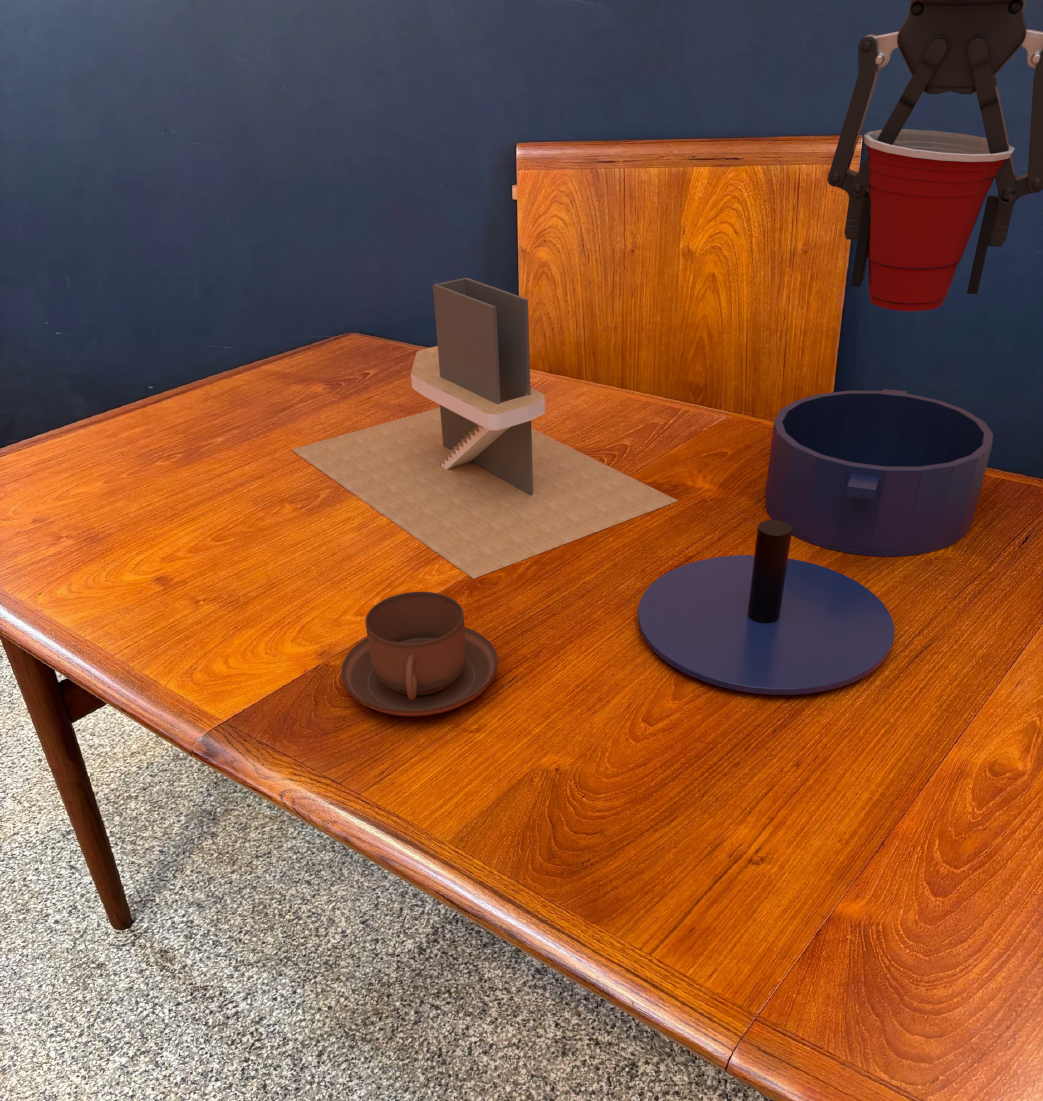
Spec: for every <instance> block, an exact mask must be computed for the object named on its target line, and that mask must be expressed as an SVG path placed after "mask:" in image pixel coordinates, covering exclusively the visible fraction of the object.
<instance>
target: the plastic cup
mask: <svg viewBox="0 0 1043 1101" xmlns="http://www.w3.org/2000/svg"><path fill="white" fill-rule="evenodd" d="M882 130H883V129H879V130H872V131H868V132H866V133H865V134H864V135H863V143H864V144H865V145H866V155H867V156H868V154H869V156H870V158H869V168H870V179H869V188H868V197H869V198H871V216H870V229H869V238H868V258H867V259H868V287H867V288H868V289H867V290H868V293H869V302H870V303H871V304H872V305H874V306H877V307H878V308H881V309H887V310H891V311H899V312H923V311H932V310H935V309H938V308H940V307H941V306H942V305H943V303H944V301H945V299H946V297H947V296H948V293H949V290H950V287H951V285H952V282H953V281H954V280H953V279H954V276H955V274H956V271H957V268H958V266H959V264H960V262H961V260H962V258H963V256H964V253H965V251H966V248H967V245H968V243H969V240H970V238H971V236H972V233H973V230H974V227H975V225H976V223H977V219H978V217H979V214H980V212H981V210H982V207H983V204H984V201H985V199H986V197H987V194H988V192H989V191H990V189H991V187H992V184H993V182H994V180H995V177H996V174H997V172H998V170H999V168H1001V166H1002V164H1003V163H1004V161H1005V159H1008V158H1009V157H1010V156H1011V157H1012V154H1013V153H1014V151H1015V147H1013V146H1012V145H1010V144H1009V151H1007V152H1001V153H996V154H990V152H989V147H988V142H987V138H986V137H982V136H976V135H971V134H964V133H958V132H957V133H956V132H947V131H941V130H940V131H938V130H924V129H907V128H905V129H904V128H902V130H901V131H900V133H899V135H898V136H897V138H896V140H895V142H894V143H893V145H889V144H886V143H883V142H880V141H876V140H877V138H878V137H879V135H880V133H881V131H882Z"/></svg>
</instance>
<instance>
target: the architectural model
mask: <svg viewBox="0 0 1043 1101" xmlns="http://www.w3.org/2000/svg"><path fill="white" fill-rule="evenodd" d="M432 290H433V292H432V294H433V304H434V306H433V307H434V317H435V330H436V342H437V343H436V344H437V345H435V346H432V347H427V348H424V349H420V350H418V351H416V354H415V357H414V360H413V362H412V363H413V364H412V367H411V371H410V377H411V387H412V389H413V390H414V391H416V392H417V393H418V394H420V395H421V396H422V397H424V398H426V399H429V400H430V401H432V402H434V403H436V404H438V405H439V407H437V408H433V409H430V410H426V411H422V412H419V413H415V414H412V415H409V416H405V417H402V418H398V419H394V420H391V421H387V422H384V423H379V424H376V425H372V426H370V427H366V428H363V429H359V430H358V429H357V430H355V431H352V432H349V433H344V434H341V435H338V436H334V437H330V438H327V439H323V440H319V441H317V442H313V443H309V444H305V445H301V446H299V447H295V448H291V449H290V450H291V451H292V452H294V453H295V454H296V455H298V456H299V457H300V458H302V459H303V460H305V461H306V462H307V463H309V464H311V465H312V466H313V467H314V468H316V469H318V470H319V471H321V473H323V474H325V475H326V476H328V477H329V478H330V479H331V480H333V481H334V482H336V483H337V484H338V485H340V486H341V487H343V488H344V489H345V490H347V491H348V492H350V493H351V494H352V495H354V496H356V497H357V498H358V499H360V500H361V501H363V502H364V503H366V504H367V505H368V506H370V507H371V508H373V510H376V511H377V512H378V513H380V514H381V515H383V517H385V518H387V519H388V520H390V522H393V523H394V524H395V525H396V526H398V527H399V528H402V530H404V531H405V532H406V533H408V534H409V535H411V536H412V537H414V538H415V539H416V540H418V541H419V542H421V543H422V544H424V545H425V546H426V547H428V548H429V549H430V550H432V551H434V552H435V553H436V554H437V555H439V556H440V557H442V558H444V560H446V561H448V562H449V563H450V564H452V565H453V566H455V567H456V568H458V569H459V570H460V571H462V572H463V573H464V574H466V575H468V576H469V577H471V578H472V579H477V578H479V577H483V576H485V575H487V574H490V573H493V572H496V571H498V570H500V569H503V568H506V567H509V566H511V565H514V564H517V563H519V562H522V561H524V560H527V559H529V558H532V557H535V556H537V555H540V554H542V553H545V552H548V551H550V550H553V549H555V548H559V547H561V546H563V545H566V544H568V543H572V542H574V541H577V540H579V539H582V538H585V537H587V536H590V535H592V534H594V533H597V532H600V531H603V530H605V529H608V528H610V527H613V526H616V525H618V524H621V523H624V522H627V521H629V520H632V519H634V518H637V517H640V516H643V515H645V514H648V513H650V512H653V511H655V510H658V509H661V508H664V507H666V506H669V505H671V504H673V503H676V502H679V500H678V499H675V498H674V497H672V496H670V495H668V494H666V493H663V492H662V491H660V490H657V489H655V488H654V487H652V486H649V485H648V484H645V483H644V482H642V481H639V480H638V479H635V478H634V477H631V476H629V475H627V474H625V473H624V472H621V471H619V470H617V469H615V468H613V467H611V466H609V465H607V464H606V463H604V462H601V461H599V460H598V459H595V458H593V457H591V456H589V455H586V454H585V453H582V452H581V451H579V450H577V449H574V448H573V447H570V446H569V445H567V444H564V443H562V442H560V441H558V440H556V439H555V438H552V437H551V436H548V435H546V434H544V433H542V432H540V431H538V430H536V429H535V428H532V420H534V419H537V418H539V417H541V416H543V415H545V414H546V395H545V394H543V393H542V392H540V391H538V390H536V389H535V388H533V387H531V361H530V360H531V359H530V356H531V355H530V323H529V319H530V318H529V299H528V298H525V297H522V296H521V295H517V294H514V293H512V292H509V291H506V290H503V289H500V288H497V287H495V286H491V285H489V284H486V283H483V282H480V281H477V280H475V279H472V278H468V277H463V278H459V279H453V280H449V281H445V282H440V283H435V284H432Z"/></svg>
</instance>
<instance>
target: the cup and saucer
mask: <svg viewBox="0 0 1043 1101" xmlns="http://www.w3.org/2000/svg"><path fill="white" fill-rule="evenodd" d="M464 614H465V613H464V609H463V607H462V606H461V604H460V603H459V602H458V601H457V600H455V599H454V598H452V597H451V596H447V595H446V594H443V593H438V592H433V591H409V592H403V593H398V594H395V595H392V596H389V597H387V598H384V599H383V600H380V601H379V602H377V603H376V604H375V605H373V606H372V607H371V608H370V609H369V611H368V612H367V614H366V616H365V621H364V623H365V630H366V637H365V638H364V639H362V640H361V641H359V642H358V643H357V644H355V645H354V647H352V649H350V651H349V652H348V653H347V654H346V656H345V658H344V660H343V662H342V666H341V678H342V682H343V684H344V686H345V688H346V690H347V691H348V693H349V694H350V696H352V698H354V699H355V700H356V701H357V702H358V703H360V704H362V705H363V706H365V707H367V708H370V709H372V710H374V711H377V712H380V713H383V714H387V715H391V716H398V717H425V716H426V717H428V716H433V715H438V714H443V713H447V712H449V711H452V710H455V709H457V708H460V707H462V706H463V705H466V704H468V703H469V702H471V701H472V700H474V699H475V698H476V697H478V696H479V695H481V694H482V693H483V692H484V691H485V690H486V689H487V688H488V687H489V686H490V684H491V683H492V682H493V680H494V678H495V675H496V673H497V668H498V661H499V660H498V654H497V650H496V649H495V647H494V645H493V644H492V643H491V642H490V640H489V639H487V638H486V637H485V636H484V635H483V634H480V633H479V632H478V631H476V630H474V629H471V628H469V627H466V626H465V615H464Z"/></svg>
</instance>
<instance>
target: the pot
mask: <svg viewBox="0 0 1043 1101" xmlns="http://www.w3.org/2000/svg"><path fill="white" fill-rule="evenodd" d="M993 438H994V433H993V431H992V430H991V429H990V428H989V426H988V425H987V423H986V421H984V420H982V419H981V418H979V417H977V416H976V415H974V414H973V413H971V412H969V411H967V410H966V409H965V408H961V407H958V406H955V405H952V404H951V403H947V402H944V401H942V400H940V399H934V398H930V397H925V396H921V395H916V394H911V393H908V391H907V390H898V389H897V390H896V389H887V388H883V389H882V390H841V391H835V392H827V393H817V394H814V395H810V396H807V397H804V398H799V399H797V400H795V401H793V402H791V403H789V404H787V405H785V407H783V408H781V409H780V410H779V412H778V414H777V415H776V417H775V419H774V421H773V426H772V433H771V443H770V449H769V450H770V451H769V460H768V468H767V469H768V470H767V476H766V484H765V485H766V486H765V491H764V492H765V494H764V500H765V509H766V512H767V514H768V515H769V517H770V519H771V520H778V521H783V522H786V523H788V524H789V525H790V526H791V527H792V533H791V536H793V537H796V538H798V539H800V540H801V541H804V542H806V543H809V544H811V545H815V546H817V547H821V548H824V549H827V550H832V551H836V552H841V553H846V554H850V555H851V554H852V555H860V556H868V557H909V556H916V555H923V554H929V553H933V552H937V551H939V550H943V549H945V548H948V547H950V546H952V545H954V544H956V543H957V542H958V541H960V540H962V539H963V537H965V536H966V535H967V534H968V532H969V530H970V528H971V526H972V525H973V522H974V515H975V512H976V509H977V505H978V501H979V497H980V493H981V490H982V485H983V481H984V478H985V473H986V470H987V468H988V467H987V466H988V462H989V458H990V455H991V451H992V448H993Z"/></svg>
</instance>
